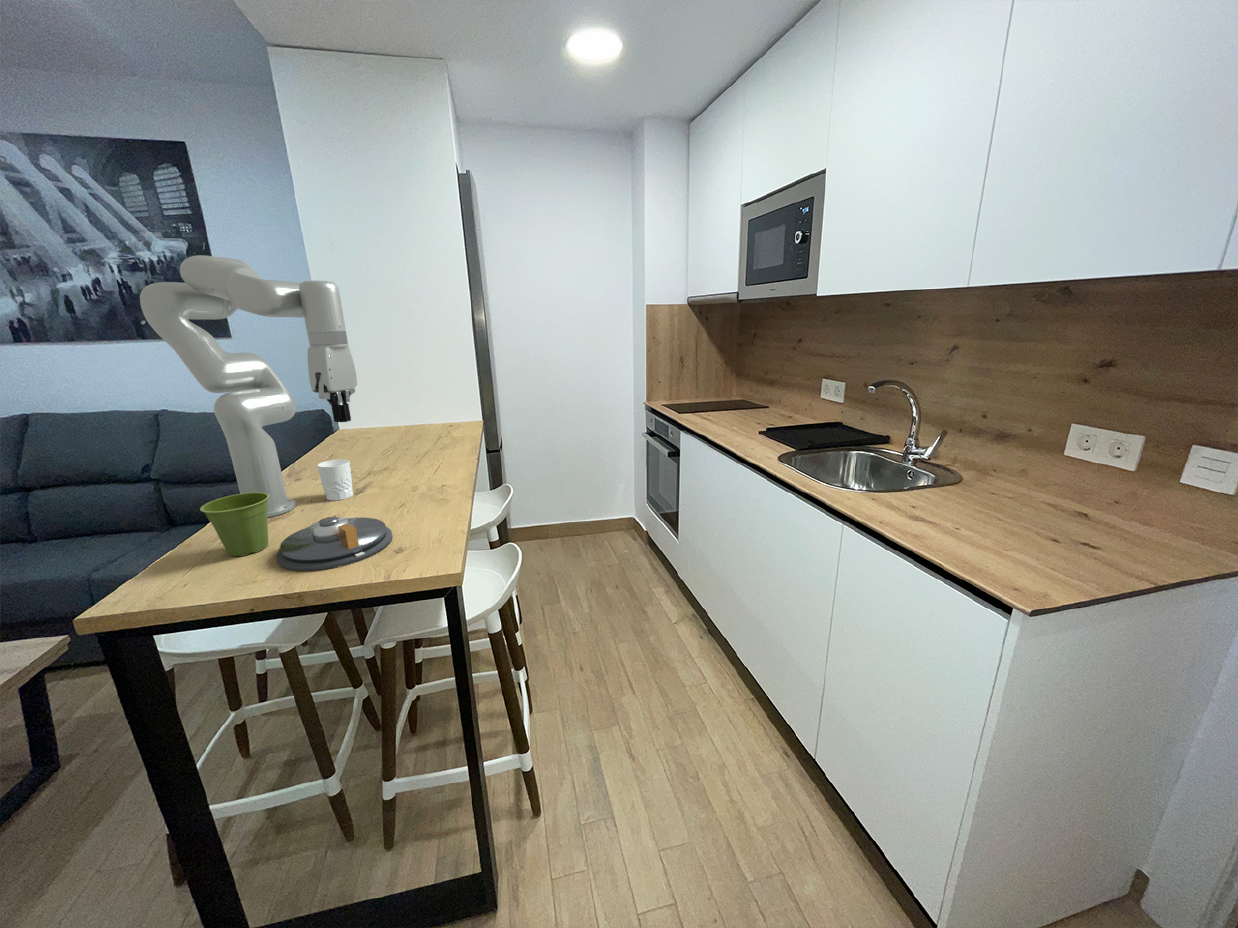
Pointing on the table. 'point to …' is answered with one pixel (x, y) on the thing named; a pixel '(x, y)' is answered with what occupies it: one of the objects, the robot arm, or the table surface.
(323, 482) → the white cup
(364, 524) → the turntable
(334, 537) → the cover
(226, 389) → the robot arm
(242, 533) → the plant pot
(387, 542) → the turntable base
